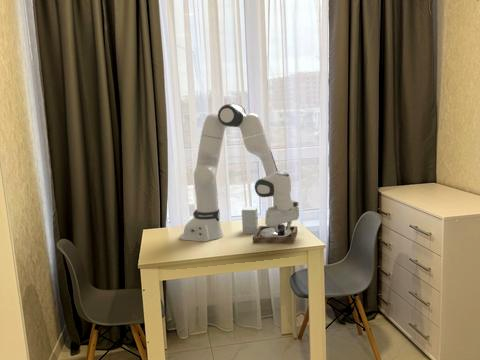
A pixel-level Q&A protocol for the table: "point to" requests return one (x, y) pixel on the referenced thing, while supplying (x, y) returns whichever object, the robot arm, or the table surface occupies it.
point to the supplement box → (249, 219)
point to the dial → (271, 233)
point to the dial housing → (275, 239)
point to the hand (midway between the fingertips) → (282, 231)
